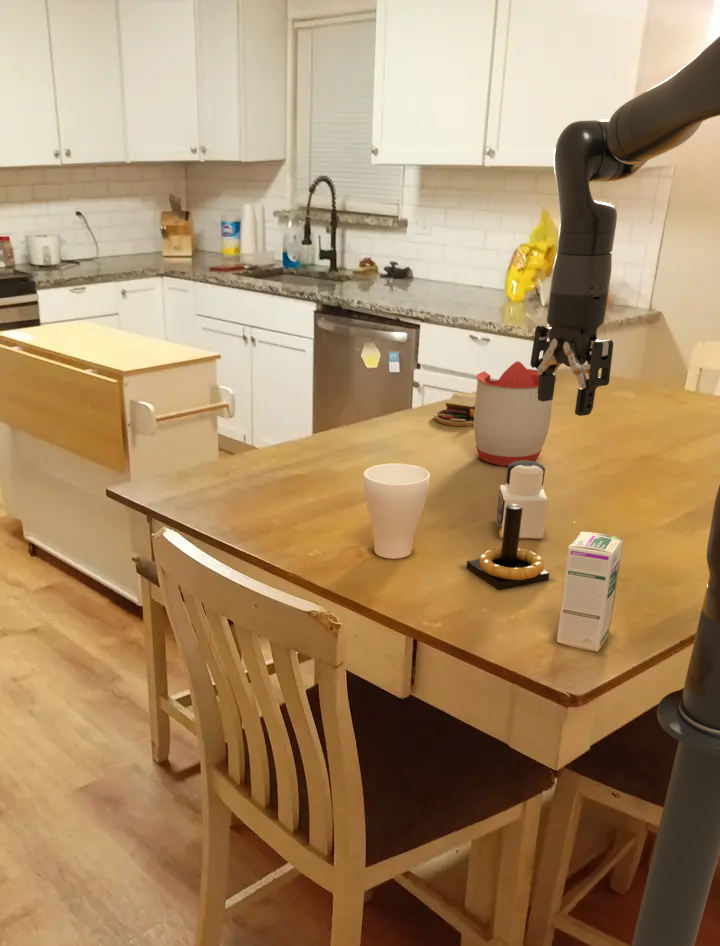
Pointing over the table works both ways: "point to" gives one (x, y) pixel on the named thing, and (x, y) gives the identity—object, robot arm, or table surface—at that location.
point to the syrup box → (589, 590)
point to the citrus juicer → (510, 416)
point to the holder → (508, 553)
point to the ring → (512, 573)
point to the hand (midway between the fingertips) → (563, 407)
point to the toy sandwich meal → (458, 410)
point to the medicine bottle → (524, 498)
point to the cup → (395, 506)
